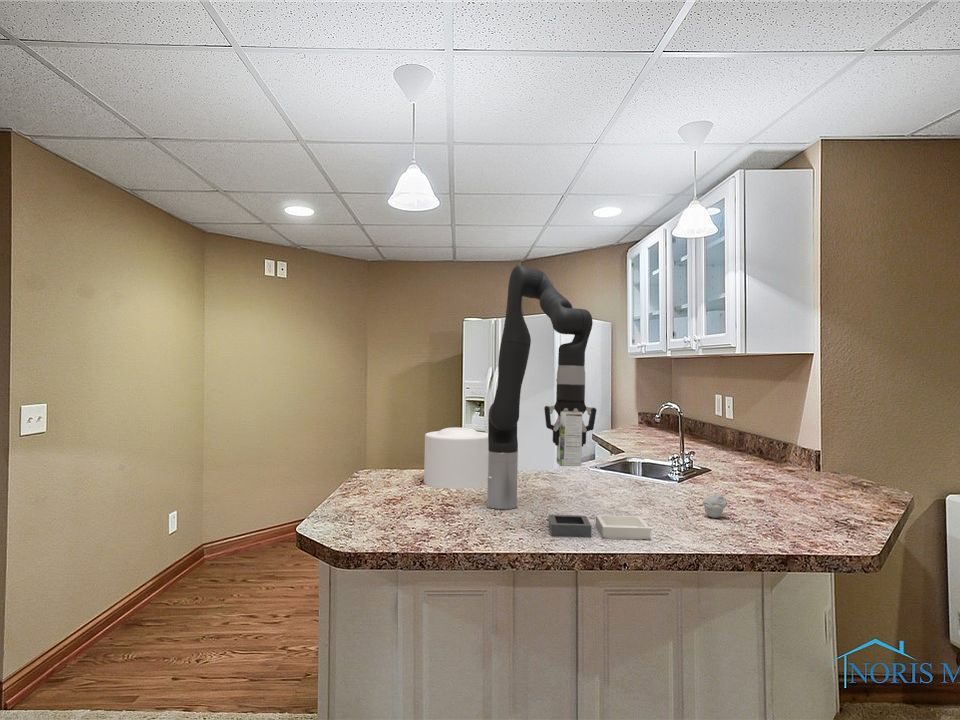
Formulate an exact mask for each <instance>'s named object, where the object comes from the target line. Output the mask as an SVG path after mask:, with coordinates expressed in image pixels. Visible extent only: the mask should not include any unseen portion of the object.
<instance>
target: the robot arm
mask: <svg viewBox="0 0 960 720" xmlns="http://www.w3.org/2000/svg"><path fill="white" fill-rule="evenodd" d="M523 297H524V298H529V299H536V300H539V307H540V309H541V310H542V312H543V313H544V314H545V315H546V316H547V317H548V318H550V319H549V320H550V322H551V326H552V328H553V330H554V331H555V332H557V333H558V334H560V335H561V334H562V335H573V339H572V340H571V341H570V342H566V343H562V344H560V346H559V347H558V358H557V360H558V361H557V372H556V392H555V393H556V394H555V395H556V398H555V399H556V400H555V404H554V405H545V406H544V408H543V409H544V410H543V411H544V416H545V426H546V428H547V429H548V430H551V431H552V442H553V444H554V445H555V446H557V445H558V433H559V432H558V429H559V427H560V421H561V415H560V413H561V411H576V412H582V413H583V414H582V416H583V415H584V413H585V412H587V415H589V417H588V424H587V425H585V423H584V420H583V419H582V447H584V445H586V443H587V433H588V432H590V431H594V429H595V423H596V422H595V421H596V417H597V416H596V415H597V408H596V407H589V406H586V401H585V399H586V397H585V396H586V371H585V369H586V368H585V367H586V365H585V362H586V357H585V356H586V350H587V345H588V341H589V338H590V334H591V331H592V327H593V323H594V322H593V316H592V313H590V311H589V310H587V309H584V308H573V304H572V302H571V301H569V300H568V299H567V298H566V297H564V296H563V295H562V294H561V293H560V292H559V291H557V289H556V287H554V285H553V283H552V282H551V280H550V278H549V277H548V276H547V275H546V273H544V271H542V270H540V269H538V268H534V267H529V266H525V265H519V264H518V265H517V264H516V266H514V267H513V269H512V270H511V273H510V275H509V280H508V287H507V298H506V299H507V301H506V310H505V320H504V325H503V329H502V334H501V340H500V345H499V346H500V347H499V353H498V364H497V366H498V369H497V370H498V371H497V373H498V374H497V375H498V376H497V378H498V379H497V387H496V392H495V396H494V399H493V403H492V404H491V405H490V407H489V409H488V418H487V419H488V421H487V424H488V425H487V427H488V430H487V431H488V432H487V433H488V450H489V451H488V486H487V495H486V496H487V497H486V498H487V503H486V505H487V506H486V507H487V508H491V509H494V510H495V509H496V510H497V509H498V510H510V509H511V510H512V509H515V508H517V507H518V467H519V466H518V464H519V463H518V462H519V461H518V459H519V458H518V457H519V455H518V453H519V449H518V448H519V442H518V422H519V418H520V401H521V392H522V385H523V381H524V379H525V378H524V377H525V374H526V370H527V365H528V361H529V357H530V356H529V355H530V351H531V343H532V340H531V334H530V332H529V331H530V330H529V329H528V325H527V323H526V320H525V318H524V314H523V307H522V306H523V305H522V303H523V302H522V301H523ZM554 410H555V412H556V413H557V418H556V421H555V423H554V424H552V420H551V414H553V411H554ZM558 415H559V416H560V417H558Z"/></svg>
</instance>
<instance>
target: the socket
mask: <svg viewBox="0 0 960 720" xmlns="http://www.w3.org/2000/svg"><path fill="white" fill-rule="evenodd" d="M548 529H549V532H550V535H551V537H558V538H559V537H561V538H562V537H565V538H569V537H570V538H592V525H591V523H590V521H589V519H588V517H587V515H577V514H575V515H573V514H572V515H571V514H570V515H569V514H548Z"/></svg>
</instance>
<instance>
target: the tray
mask: <svg viewBox="0 0 960 720" xmlns="http://www.w3.org/2000/svg"><path fill="white" fill-rule="evenodd" d="M595 527H596V528H597V531H598V530H599V531H598V533H599V534H600V536H601V537H602V539H603V540H626V539H641V540H640V541H643V540H642V539H646V540H645V541H651V536H652V534H651V533H652V528H651V527H650V526H649V524H648V523H646V521H645V520H644V519H643V518H642V517H641V516H640V515H637V516H636V515H611V514H610V515H607V514H606V515H604V514H603V515H602V514H598V515H597V514H596V515H595ZM647 539H648V540H647Z"/></svg>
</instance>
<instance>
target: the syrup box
mask: <svg viewBox="0 0 960 720" xmlns="http://www.w3.org/2000/svg"><path fill="white" fill-rule="evenodd" d="M582 414H583V415H584V413H582V412H576V411H561V413H560V415H561V421H560V427H559V429H558V432H559V433H558V445H556V464H558V465H559V467H581V466H582V450H583V448H582V447H583V446H582V420H583V415H582ZM558 417H560V416H559V415H558V414H557V418H558Z"/></svg>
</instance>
